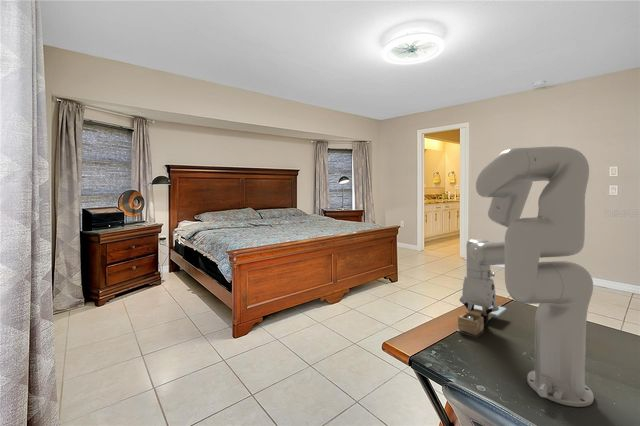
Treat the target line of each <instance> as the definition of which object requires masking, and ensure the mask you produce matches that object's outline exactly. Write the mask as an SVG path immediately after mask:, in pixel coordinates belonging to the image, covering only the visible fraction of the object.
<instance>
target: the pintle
mask: <svg viewBox="0 0 640 426" xmlns="http://www.w3.org/2000/svg"><path fill="white" fill-rule="evenodd" d="M467 319H470V320H474V317H473V316H467ZM455 331H456V332H459V333H462V334H464V335H468V336H470V337H473V338H478V337H479V336H481V335H482V334H483V333H485V332H486V329H484V330H482V331H481V332H480V333H479V334H477V335H474V334H471V333H468V332H465V331H462V330H459V329H458V328H457V329H456V330H455Z"/></svg>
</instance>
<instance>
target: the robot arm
mask: <svg viewBox="0 0 640 426" xmlns="http://www.w3.org/2000/svg"><path fill="white" fill-rule="evenodd" d="M589 177H590V166H589V161H588V160H587V158H586V156H585V155H584V154H583V153H582V152H581V151H579V150H577V149H576V148H572V147H568V146H537V147H536V146H535V147H533V146H532V147H514V148H509V149H506V150H504V151H502V152H501V153H499V154H498V155H497V156H496V157H495V158H494V159H493V160H491V161H490V162H489V163H488V164H487V165H486V166H484V168H483V169H481V171H480V172H479V174H478V176H477V178H476V182H475V190H476V192H477V194H478V196H480V197H482V198H491V201H490V205H489V207H488V211H487V217H488V218H489V219H490V220H491V221H492V222H494V223H496V224H497V225H500V226H503V227H505V228H506V231H505V235H504V241H493V242H490V241H489V240H487V239H483V238H471V239H468V240H467V241H466V245H465V246H466V247H465V248H466V249H465V250H466V274H465V276H464V278H463V279H464V280H463V284H462V292H461V293H462V295H461V297H460V298H459V302H460V303H462V305H464V307H465V308H467V311H468V313H470V312H471V311H472V310H474V306H475V305H478V306H482V311H483V315H482V317H484V327H485V326H486V325H487V324H488V323H489V320H488V314H489V313H491V312H494V311H498V310H499V307H498V306H499V305H498V303H497V294H496V287H495V282H494V281H495V280H494V278H495V276H496V275H495V274H496V273H495V272H493V271H492V270H491V266H496V265H497V266H499V265H503V266H504V284H505V287H506V290H507V293H508V294H509V296H510V298H511V299H513V300H514V301H515V302H518V303H520V304H523V305H526V304H528V305H529V304H530V305H531V304H532V305H538V306H537V309H536V311H535V317H534V318H535V319H534V370H531V371H529V372H528V373H527V377H526V381H527V384H528V385H529V387H530V388H531V389H532V390H533V391H534V392H536V393H537V394H538V395H539V397H541V398H544V399H548V400H550V401H552V402H555V403H557V404H561V405H563V406H564V405H565V406H569V407H578V408H581V407H588V406H590V405H592V404H593V403H594V398H595V397H594V393H593V391H592V390H591V388H590V387H589V386H588V385H586V347H587V346H586V343H587V342H586V340H587V339H586V336H587V319H588V318H587V317H588V310H589V306H590V303H591V299H592V296H593V291H594V282H593V277H592V275H591V273H590V271H588V270H587V269H586V268H585V267H584V266H583V265H580V264H577V263H575V262H572V261H567V260H566V261H565V260H564V261H563V260H557V261H556V260H555V261H540V259H541V258H561V257H562V258H563V257H570V256H574V255H577V254H579V253H580V252H582V250H583V248H584V246H585V245H584V244H585V237H586V236H585V234H586V232H585V229H586V227H585V226H586V222H585V221H586V192H587V187H588V183H589ZM543 181H544V182H548V183H547V184H546V185H545V186H544V187H543V189H542V190H541V193H540V195H539V197H538V200H537V201H538V202H537V203H538V207H537V208H538V212H537V216H536V217H522V218H521V216H522V214H523V211H524V207H525V205H526V203H527V199H528V197H529V194H530V191H531V189H532V186H533V183H534V182H543ZM491 306H493V308H490V307H491ZM489 308H490V309H489Z"/></svg>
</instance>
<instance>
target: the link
mask: <svg viewBox="0 0 640 426" xmlns="http://www.w3.org/2000/svg"><path fill="white" fill-rule="evenodd" d="M482 315H483V311H482V309H478V308H475V309H474V310H472V311H471V312H470V313H469V312H467V311H465V312H463V313H462V314H460V315H459V316H458V318H457V319H458V320H457V321H458V325H457V326H458V328H457V329H459V330H462V331H465V332H468V333H471V334H474V335H477V334H479V333H480V332H481V331H482V330H485V326H484V317H482ZM467 316H473V317H474V320H470V319H467ZM492 317H493V316H492V315H488V321H489V320H491V319H492Z"/></svg>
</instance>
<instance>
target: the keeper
mask: <svg viewBox="0 0 640 426" xmlns="http://www.w3.org/2000/svg"><path fill="white" fill-rule="evenodd" d="M498 307H499V310H498V311H494V312H491V313H489V314H488V315H492V317H497V318H498V317H499V316H500V315H502V314H503V313H504V312H506V310H507V307H504V306H499V305H498ZM465 308H466V307H465ZM475 308H478V309H482V306H478V305H475V306H474V309H475ZM490 308H493V306H491V307H490ZM490 308H489V309H490ZM466 309H467V308H466ZM467 310H468V309H467Z"/></svg>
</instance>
